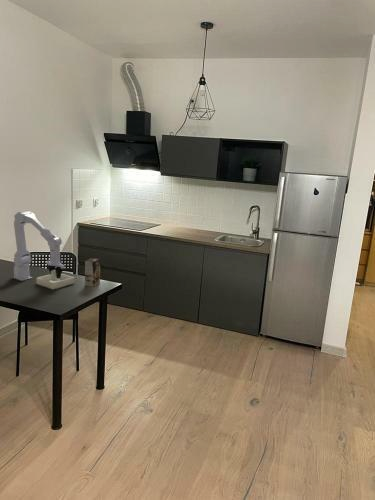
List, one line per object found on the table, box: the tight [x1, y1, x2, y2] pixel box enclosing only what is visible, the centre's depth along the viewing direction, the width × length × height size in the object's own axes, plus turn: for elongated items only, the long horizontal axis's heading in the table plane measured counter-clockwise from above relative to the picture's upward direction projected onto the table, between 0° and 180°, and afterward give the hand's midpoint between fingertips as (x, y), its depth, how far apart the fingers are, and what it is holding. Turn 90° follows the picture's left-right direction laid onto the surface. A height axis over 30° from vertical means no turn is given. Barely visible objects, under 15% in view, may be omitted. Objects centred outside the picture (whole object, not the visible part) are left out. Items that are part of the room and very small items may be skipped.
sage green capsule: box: [51, 270, 60, 281], centre depth 229 cm, size 5×5×6 cm
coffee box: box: [84, 257, 101, 288], centre depth 232 cm, size 9×6×16 cm
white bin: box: [36, 272, 75, 291], centre depth 230 cm, size 16×16×4 cm
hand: (55, 277), depth 229 cm, fingers closed on sage green capsule, 5 cm apart
